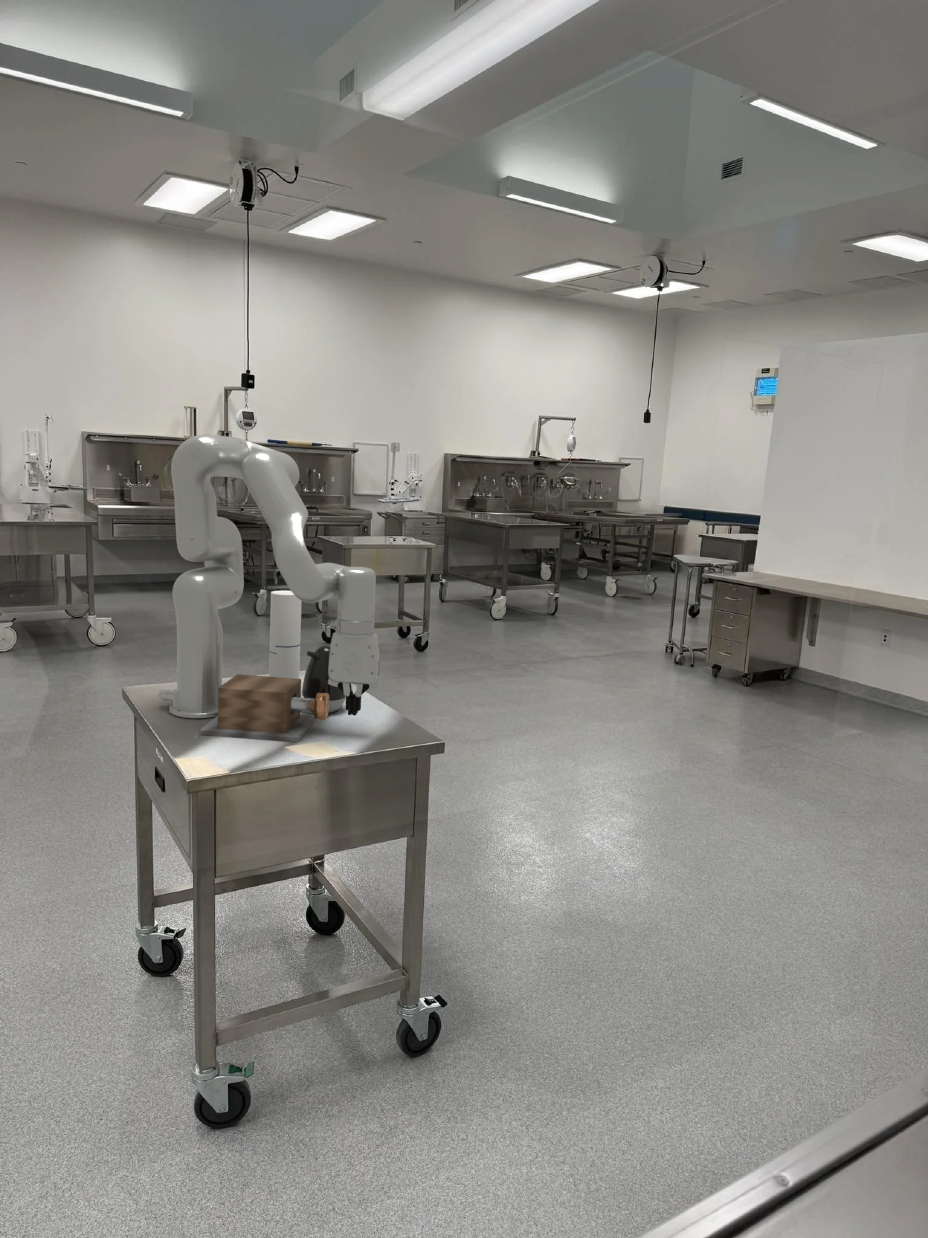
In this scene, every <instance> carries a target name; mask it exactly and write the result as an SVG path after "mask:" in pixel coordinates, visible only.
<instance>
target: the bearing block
mask: <svg viewBox="0 0 928 1238" xmlns="http://www.w3.org/2000/svg"><path fill="white" fill-rule="evenodd" d="M291 697H301V698H302V679H301V678H299V679H296V678H282V677H269V675H268V676H266V675H256V674H255V675H253V674H239V673H237V674H236V675H234V676H233V677H232V678H230V679H229V680H227V681H226V682H224V683H222V686H220V687H219V688H218V716H216V717H213V719H212V720H210V721H208V722H207V723H206V724H205V725H204V726H202V727H201V728H200V729H199V736H211V737H223V738H237V739H251V740H260V741H261V740H263V741H275V742H286V743H287V742H288V743H289V742H290V743H291V742H292V743H298V742H299V741H300V740H301V739H302V738H303V736H304V735H305V734H306V732H307V731H308V730H309V729H310V728H311V726H312V725H313V724H314V722H315V721H316V720H317V719H315V717H314V714H301V712H295V711H291Z"/></svg>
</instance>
